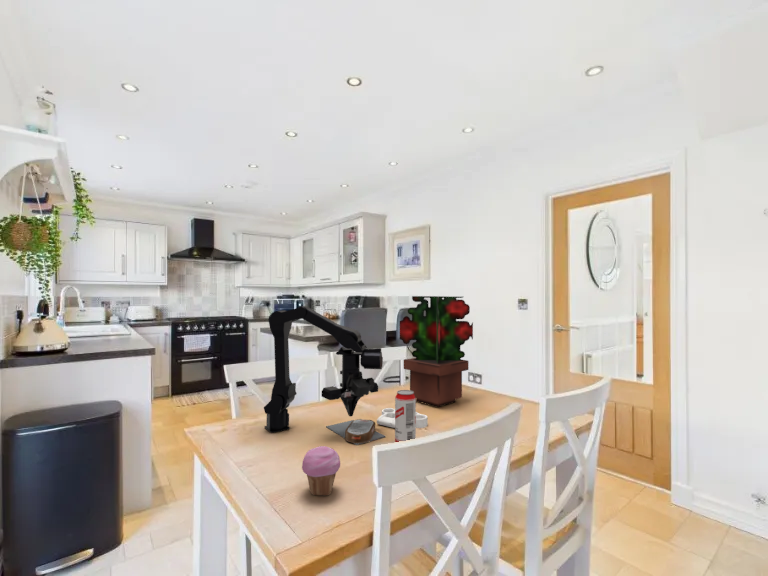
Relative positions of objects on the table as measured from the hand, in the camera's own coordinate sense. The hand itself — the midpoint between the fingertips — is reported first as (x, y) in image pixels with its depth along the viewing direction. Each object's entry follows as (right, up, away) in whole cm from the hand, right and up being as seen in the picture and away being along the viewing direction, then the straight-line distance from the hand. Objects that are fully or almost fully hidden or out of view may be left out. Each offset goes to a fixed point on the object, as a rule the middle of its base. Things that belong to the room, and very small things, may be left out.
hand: (350, 416), depth 122 cm
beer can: (+17, -6, -9) cm, 21 cm away
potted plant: (+33, -7, +38) cm, 51 cm away
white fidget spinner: (+17, -7, +11) cm, 21 cm away
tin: (-1, -4, -1) cm, 4 cm away
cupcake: (-3, -5, -37) cm, 37 cm away
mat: (+1, -6, +1) cm, 6 cm away
